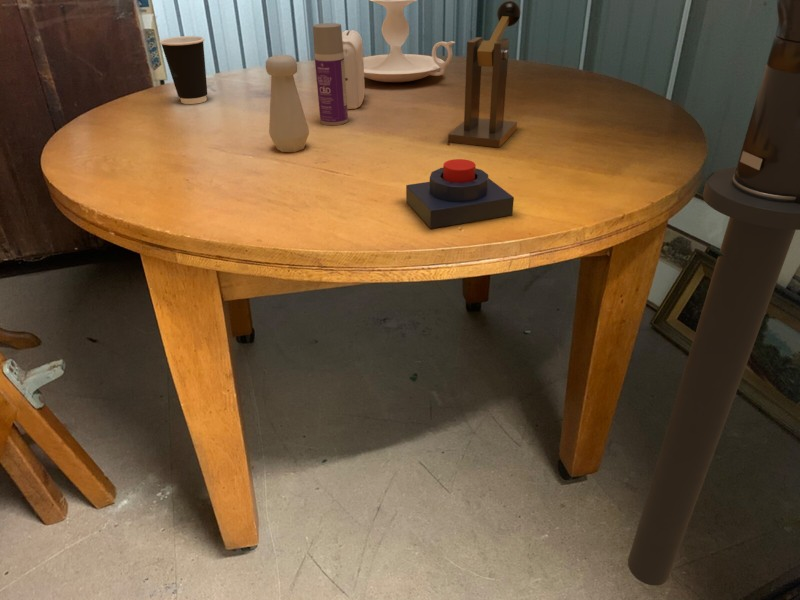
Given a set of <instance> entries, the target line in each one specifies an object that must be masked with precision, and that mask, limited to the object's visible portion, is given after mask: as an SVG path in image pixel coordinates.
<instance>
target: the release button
mask: <svg viewBox="0 0 800 600" xmlns="http://www.w3.org/2000/svg"><path fill="white" fill-rule="evenodd" d="M442 165H443V166H442V168H443V180H446V181H449V182H453V183H464V182H471V181H473V180H475V168H477V167H476V166H477V165H476V163H475V162H474V161H472V160H471V159H463V158H454V159H448V160H446V161H445V162H444V163H443V164H442Z"/></svg>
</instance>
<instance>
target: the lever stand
mask: <svg viewBox="0 0 800 600" xmlns="http://www.w3.org/2000/svg"><path fill="white" fill-rule="evenodd" d="M483 40H484V38H483V37H481V36H477V37H474V38H472V39H470V40H468V41H467V42H466V59H465V60H466V61H465V64H466V65H465V86H464V112H463V113H464V116H463V122H461V123H460V124H459V125H458V126H456V127H455V128H454V129H453V130H451V131H450V132H449V133H448V135H447V143H453V144H461V145H471V146H479V147H489V148H495V149H496V148H497V149H500V148H501V147H502V146H503V145H504V144H505V142H506V141H507V140H508V139H509V138H510V137H511V136H512V135H513V134H514V133H515V132H516V131H517V128H518V121H514V120H513V121H511V120H505V104H506V91H507V79H508V78H507V77H508V62H509V57H510V50H509V49H510V38H504V37H503V38H501V39H500V40H499V41H498V42H496V43H494V56H493V67H492V74H491V92H490V108H489V109H490V110H489V118H482V117H480V103H481V100H480V99H481V83H482V82H481V80H482V66H478V57H477V50H478V48H479V46H480V45H481V43H482V41H483Z"/></svg>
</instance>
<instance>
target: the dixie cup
mask: <svg viewBox="0 0 800 600" xmlns="http://www.w3.org/2000/svg"><path fill="white" fill-rule="evenodd" d="M204 41H205V37H203V36H198V35H197V36H196V35H183V36H181V35H180V36H174V37H166V38H163V39H160V40H159V42H158V43H159V44H160V45H161V48H162V50H163V53H164V54H163V55H164V56H165V60H166V63H167V66H168V69H169V72H170V75H171V79H172V81H173V84H174V88H175V90H176V94H177V97H178V98H179V99H180V103H181V104H185V105H195V104H202V103H205V102H206V101H207V100H208V99H207V98H208V97H207V95H208V83H207V82H208V81H207V69H206V58H205V46H204Z"/></svg>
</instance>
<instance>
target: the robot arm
mask: <svg viewBox="0 0 800 600" xmlns="http://www.w3.org/2000/svg"><path fill="white" fill-rule="evenodd" d="M776 10H777V19H778V21H777V27H776V30H775V35H774V37H773V39H772V40H773V41H772V44H771V48H770V51H769V55H768V58H767V61H766V65H765V68H764V72H763V75H762V79H761V81H760V85H759V89H758V92H757V95H756V99H755V102H754V106H753V109H752V113H751V116H750V120H749V123H748V126H747V130H746V134H745V136H744V139H743V140H744V141H743V143H742V147H741V150H740V154H739V157H738V162H737V164H736V166H735V167H736V172H735V174H734V175H733V179H732V185H733V186H734V187H735V188H736V189H738V190H739V191H741V192H743V193H745V194H748V195H751V196H754V197H757V198H761V199H765V200H771V201H778V202H791V203H797V204H800V0H776Z"/></svg>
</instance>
